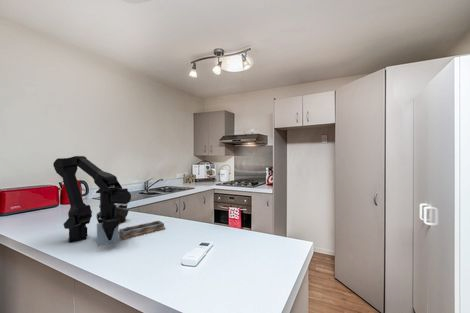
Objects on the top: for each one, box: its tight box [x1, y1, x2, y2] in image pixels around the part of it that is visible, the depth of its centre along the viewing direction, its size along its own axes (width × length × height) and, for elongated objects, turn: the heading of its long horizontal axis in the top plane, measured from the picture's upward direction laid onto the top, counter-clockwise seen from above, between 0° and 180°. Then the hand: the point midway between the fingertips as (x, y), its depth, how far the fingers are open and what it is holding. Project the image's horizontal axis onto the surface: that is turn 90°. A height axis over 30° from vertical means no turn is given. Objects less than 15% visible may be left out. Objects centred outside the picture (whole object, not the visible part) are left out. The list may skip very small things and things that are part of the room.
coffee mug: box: [115, 204, 128, 224], centre depth 124 cm, size 12×9×10 cm
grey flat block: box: [96, 223, 120, 247], centre depth 94 cm, size 8×3×9 cm, turn 132°
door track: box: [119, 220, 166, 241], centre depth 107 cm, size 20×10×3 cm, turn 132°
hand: (107, 237), depth 94 cm, fingers open, 9 cm apart
